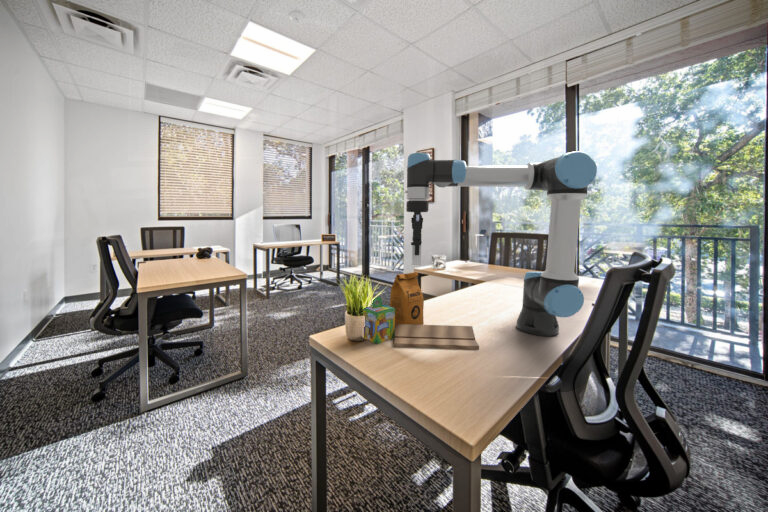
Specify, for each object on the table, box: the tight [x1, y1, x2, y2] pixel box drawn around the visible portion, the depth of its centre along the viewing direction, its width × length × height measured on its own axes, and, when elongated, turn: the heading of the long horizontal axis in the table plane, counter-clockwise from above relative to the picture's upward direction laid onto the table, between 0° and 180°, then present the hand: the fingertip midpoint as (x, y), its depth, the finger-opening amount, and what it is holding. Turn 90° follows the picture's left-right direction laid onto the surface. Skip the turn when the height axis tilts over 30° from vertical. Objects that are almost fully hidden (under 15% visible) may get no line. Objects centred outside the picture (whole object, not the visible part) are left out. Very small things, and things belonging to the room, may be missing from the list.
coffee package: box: [389, 271, 425, 325], centre depth 123 cm, size 10×12×22 cm
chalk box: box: [362, 296, 395, 345], centre depth 114 cm, size 9×9×15 cm
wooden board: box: [393, 337, 480, 351], centre depth 112 cm, size 28×12×2 cm, turn 87°
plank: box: [394, 324, 476, 340], centre depth 114 cm, size 28×6×1 cm
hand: (416, 262), depth 111 cm, fingers open, 13 cm apart
